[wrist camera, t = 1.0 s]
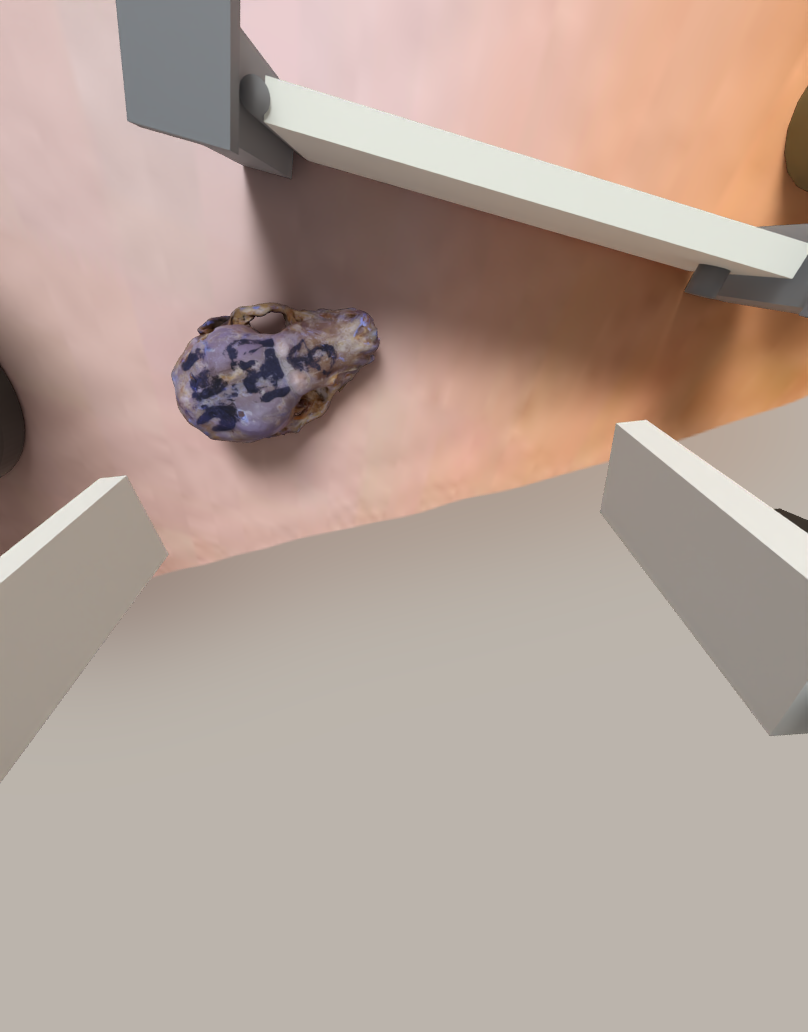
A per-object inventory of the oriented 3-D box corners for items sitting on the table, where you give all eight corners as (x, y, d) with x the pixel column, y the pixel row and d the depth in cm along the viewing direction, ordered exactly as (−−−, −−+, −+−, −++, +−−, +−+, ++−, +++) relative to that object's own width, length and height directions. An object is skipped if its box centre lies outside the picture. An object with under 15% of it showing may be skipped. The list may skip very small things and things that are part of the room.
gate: (290, 185, 22) (238, 157, 15) (294, 125, 20) (239, 65, 14) (675, 294, 24) (775, 310, 18) (700, 246, 23) (818, 244, 16)
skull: (368, 273, 24) (357, 279, 19) (397, 401, 28) (395, 435, 23) (180, 321, 26) (122, 339, 20) (233, 436, 30) (196, 476, 24)
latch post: (677, 294, 24) (814, 317, 16) (715, 221, 22) (893, 204, 14) (725, 308, 25) (884, 337, 16) (766, 237, 23) (970, 230, 15)
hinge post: (235, 170, 21) (127, 120, 13) (236, 74, 20) (110, -55, 11) (297, 188, 22) (230, 150, 14) (304, 95, 20) (230, -15, 12)
